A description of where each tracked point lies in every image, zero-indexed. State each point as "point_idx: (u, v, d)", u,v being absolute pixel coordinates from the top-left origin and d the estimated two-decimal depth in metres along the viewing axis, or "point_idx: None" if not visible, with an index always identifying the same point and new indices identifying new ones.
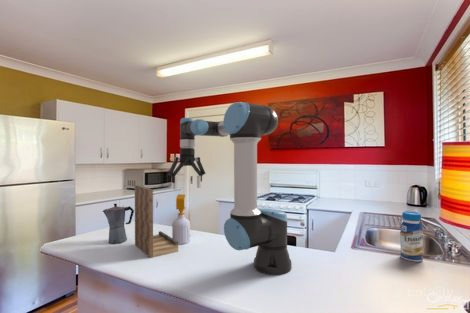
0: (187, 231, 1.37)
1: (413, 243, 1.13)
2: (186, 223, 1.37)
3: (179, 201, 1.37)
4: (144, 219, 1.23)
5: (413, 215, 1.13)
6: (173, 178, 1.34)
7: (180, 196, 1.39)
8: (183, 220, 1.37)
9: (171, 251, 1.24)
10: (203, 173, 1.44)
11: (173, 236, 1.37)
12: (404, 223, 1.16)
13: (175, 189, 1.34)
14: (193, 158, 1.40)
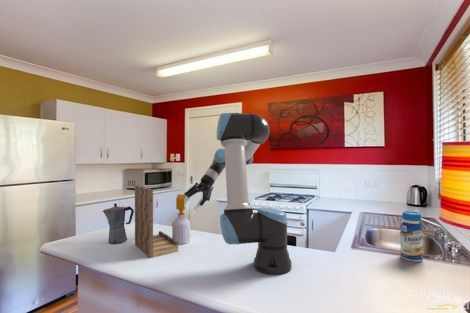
0: (187, 231, 1.37)
1: (413, 243, 1.13)
2: (186, 223, 1.37)
3: (179, 201, 1.37)
4: (144, 219, 1.23)
5: (413, 215, 1.13)
6: (185, 197, 1.52)
7: (180, 196, 1.39)
8: (183, 220, 1.37)
9: (171, 251, 1.24)
10: (205, 197, 1.41)
11: (173, 236, 1.37)
12: (404, 223, 1.16)
13: None
14: (206, 184, 1.49)
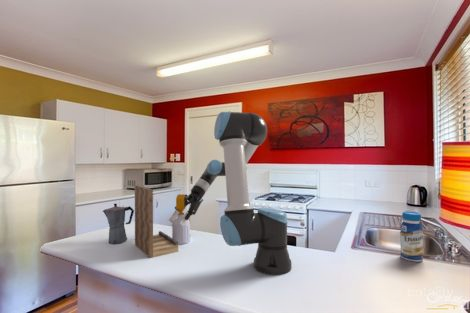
0: (187, 231, 1.37)
1: (413, 243, 1.13)
2: (186, 223, 1.37)
3: (179, 201, 1.37)
4: (144, 219, 1.23)
5: (413, 215, 1.13)
6: (175, 211, 1.43)
7: (180, 196, 1.39)
8: None
9: (171, 251, 1.24)
10: (191, 210, 1.36)
11: (173, 236, 1.37)
12: (404, 223, 1.16)
13: (169, 219, 1.40)
14: (197, 195, 1.43)
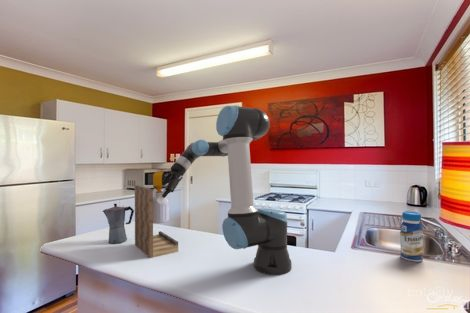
0: (165, 210, 1.29)
1: (413, 243, 1.13)
2: (164, 201, 1.29)
3: (156, 178, 1.29)
4: (144, 219, 1.23)
5: (413, 215, 1.13)
6: (153, 190, 1.36)
7: (158, 173, 1.31)
8: None
9: (171, 251, 1.24)
10: (168, 188, 1.28)
11: None
12: (404, 223, 1.16)
13: None
14: (176, 173, 1.35)
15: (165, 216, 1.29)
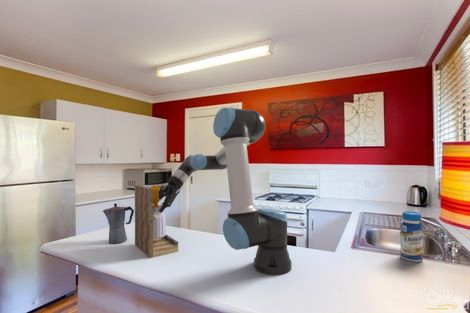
0: (162, 224, 1.28)
1: (413, 243, 1.13)
2: (161, 216, 1.28)
3: (153, 192, 1.28)
4: (144, 219, 1.23)
5: (413, 215, 1.13)
6: None
7: (154, 187, 1.30)
8: None
9: (171, 251, 1.24)
10: (165, 202, 1.27)
11: None
12: (404, 223, 1.16)
13: None
14: (173, 187, 1.34)
15: (162, 231, 1.28)
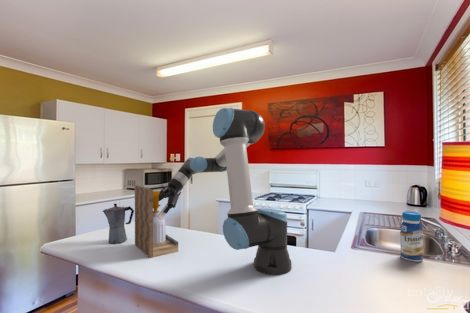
0: (162, 230, 1.28)
1: (413, 243, 1.13)
2: (160, 221, 1.28)
3: (153, 198, 1.28)
4: (144, 219, 1.23)
5: (413, 215, 1.13)
6: None
7: (154, 193, 1.30)
8: (157, 218, 1.28)
9: (171, 251, 1.24)
10: (170, 204, 1.26)
11: None
12: (404, 223, 1.16)
13: None
14: (173, 189, 1.34)
15: (162, 236, 1.28)
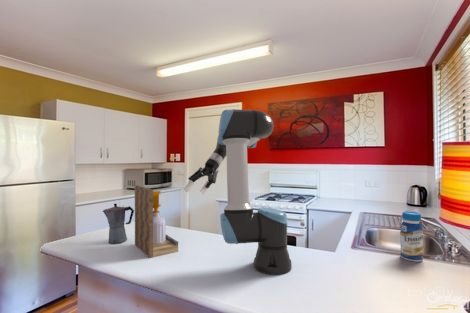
0: (162, 230, 1.28)
1: (413, 243, 1.13)
2: (161, 222, 1.28)
3: (153, 198, 1.28)
4: (144, 219, 1.23)
5: (413, 215, 1.13)
6: None
7: (155, 193, 1.30)
8: (157, 218, 1.28)
9: (171, 251, 1.24)
10: (211, 179, 1.39)
11: None
12: (404, 223, 1.16)
13: (184, 188, 1.46)
14: (211, 168, 1.48)
15: (162, 236, 1.28)
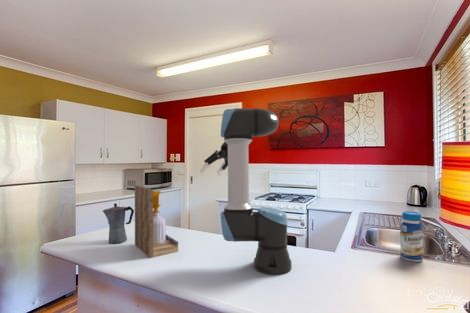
0: (162, 230, 1.28)
1: (413, 243, 1.13)
2: (161, 222, 1.28)
3: (153, 198, 1.28)
4: (144, 219, 1.23)
5: (413, 215, 1.13)
6: (205, 164, 1.50)
7: (154, 193, 1.30)
8: (157, 218, 1.28)
9: (171, 251, 1.24)
10: (227, 161, 1.40)
11: None
12: (404, 223, 1.16)
13: (200, 170, 1.47)
14: (227, 150, 1.48)
15: (162, 237, 1.28)
